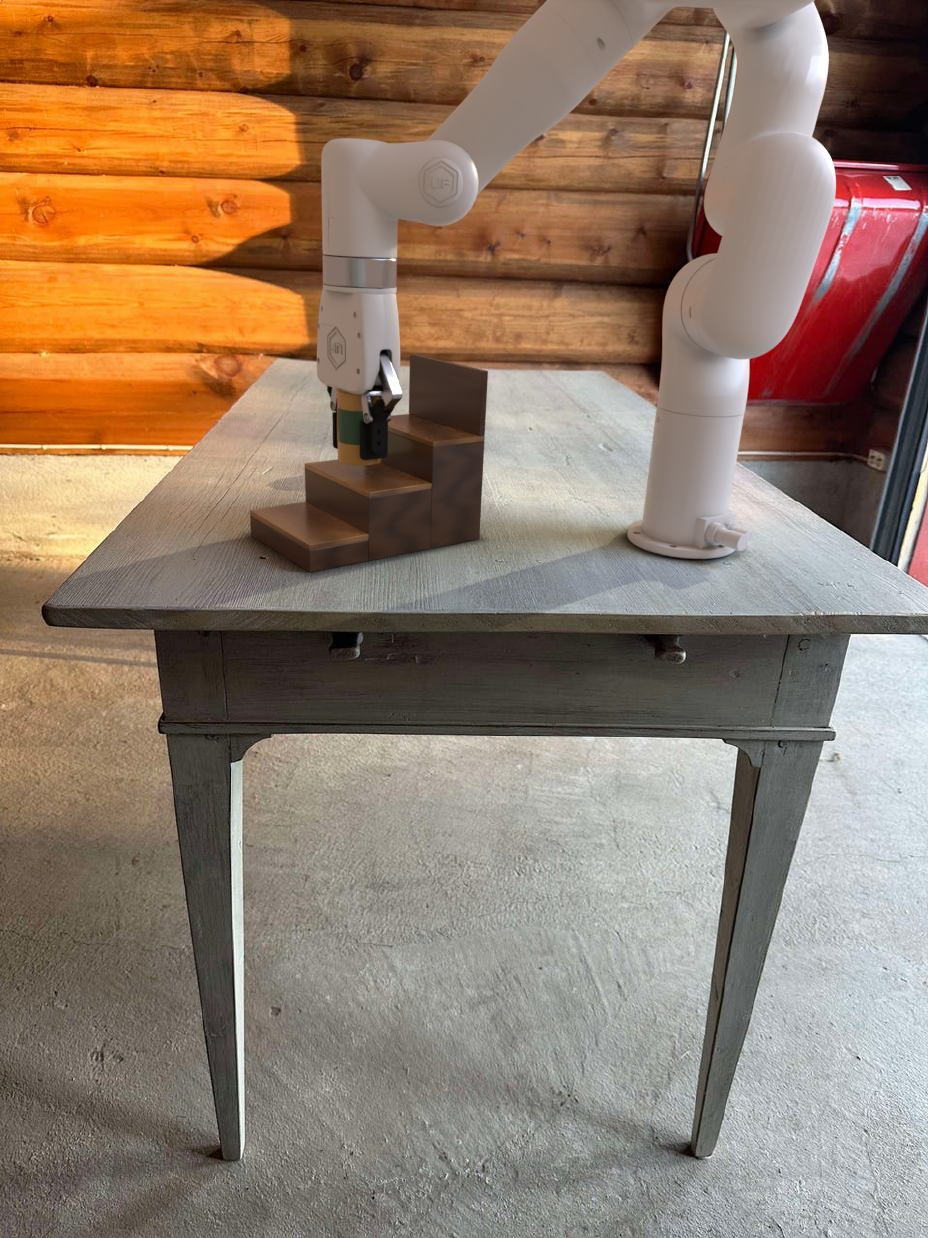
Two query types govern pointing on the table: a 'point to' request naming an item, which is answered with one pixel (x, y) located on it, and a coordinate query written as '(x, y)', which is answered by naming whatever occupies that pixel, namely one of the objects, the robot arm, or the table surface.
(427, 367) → the step shelf
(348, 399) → the tin
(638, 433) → the table surface
